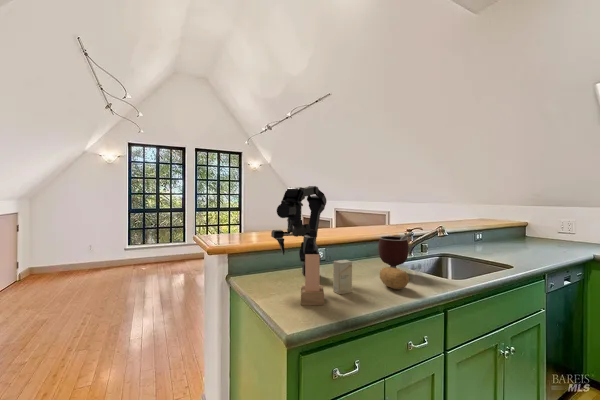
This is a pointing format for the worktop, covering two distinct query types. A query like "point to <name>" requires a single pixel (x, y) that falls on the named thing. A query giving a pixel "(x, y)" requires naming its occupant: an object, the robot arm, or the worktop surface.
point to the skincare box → (342, 276)
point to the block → (312, 272)
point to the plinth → (312, 297)
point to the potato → (394, 277)
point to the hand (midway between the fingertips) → (294, 254)
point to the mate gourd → (393, 250)
